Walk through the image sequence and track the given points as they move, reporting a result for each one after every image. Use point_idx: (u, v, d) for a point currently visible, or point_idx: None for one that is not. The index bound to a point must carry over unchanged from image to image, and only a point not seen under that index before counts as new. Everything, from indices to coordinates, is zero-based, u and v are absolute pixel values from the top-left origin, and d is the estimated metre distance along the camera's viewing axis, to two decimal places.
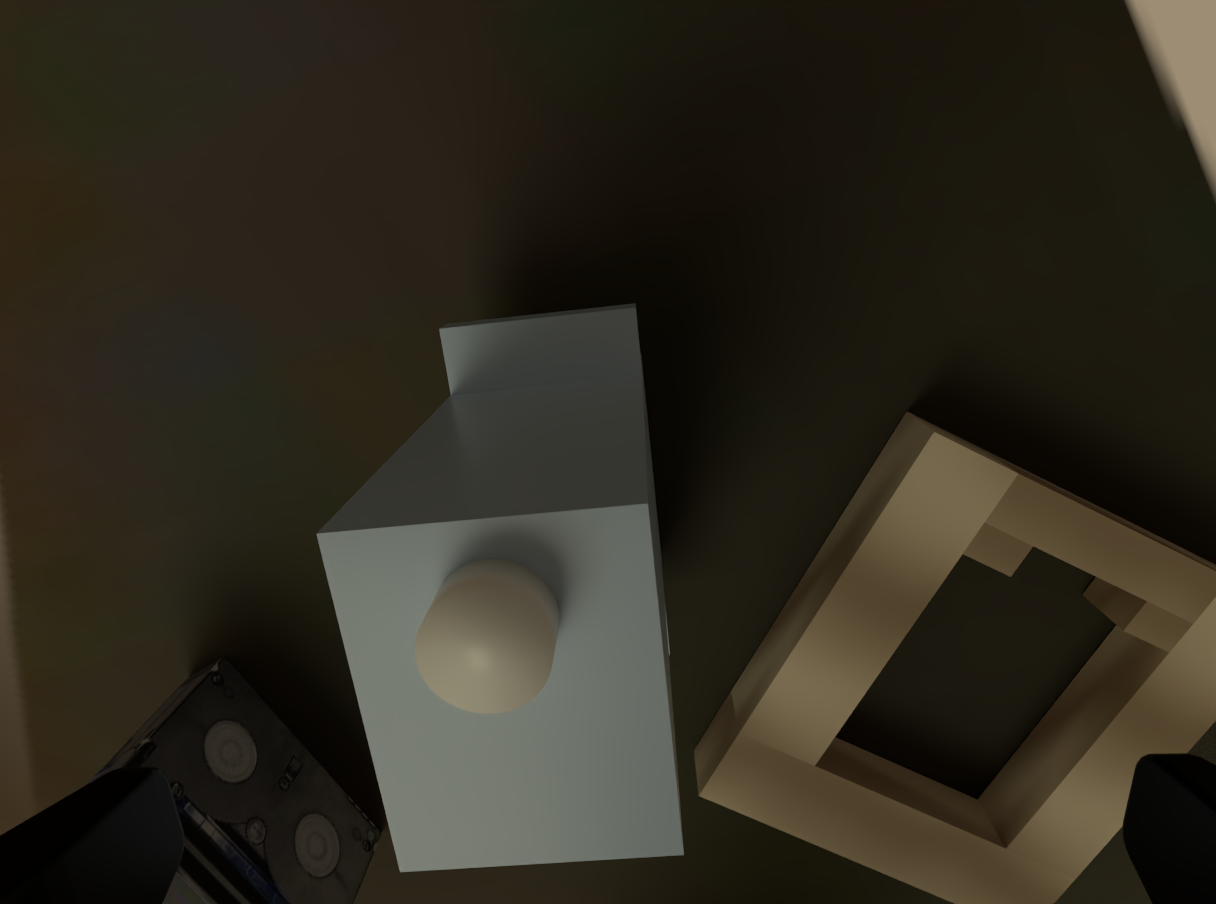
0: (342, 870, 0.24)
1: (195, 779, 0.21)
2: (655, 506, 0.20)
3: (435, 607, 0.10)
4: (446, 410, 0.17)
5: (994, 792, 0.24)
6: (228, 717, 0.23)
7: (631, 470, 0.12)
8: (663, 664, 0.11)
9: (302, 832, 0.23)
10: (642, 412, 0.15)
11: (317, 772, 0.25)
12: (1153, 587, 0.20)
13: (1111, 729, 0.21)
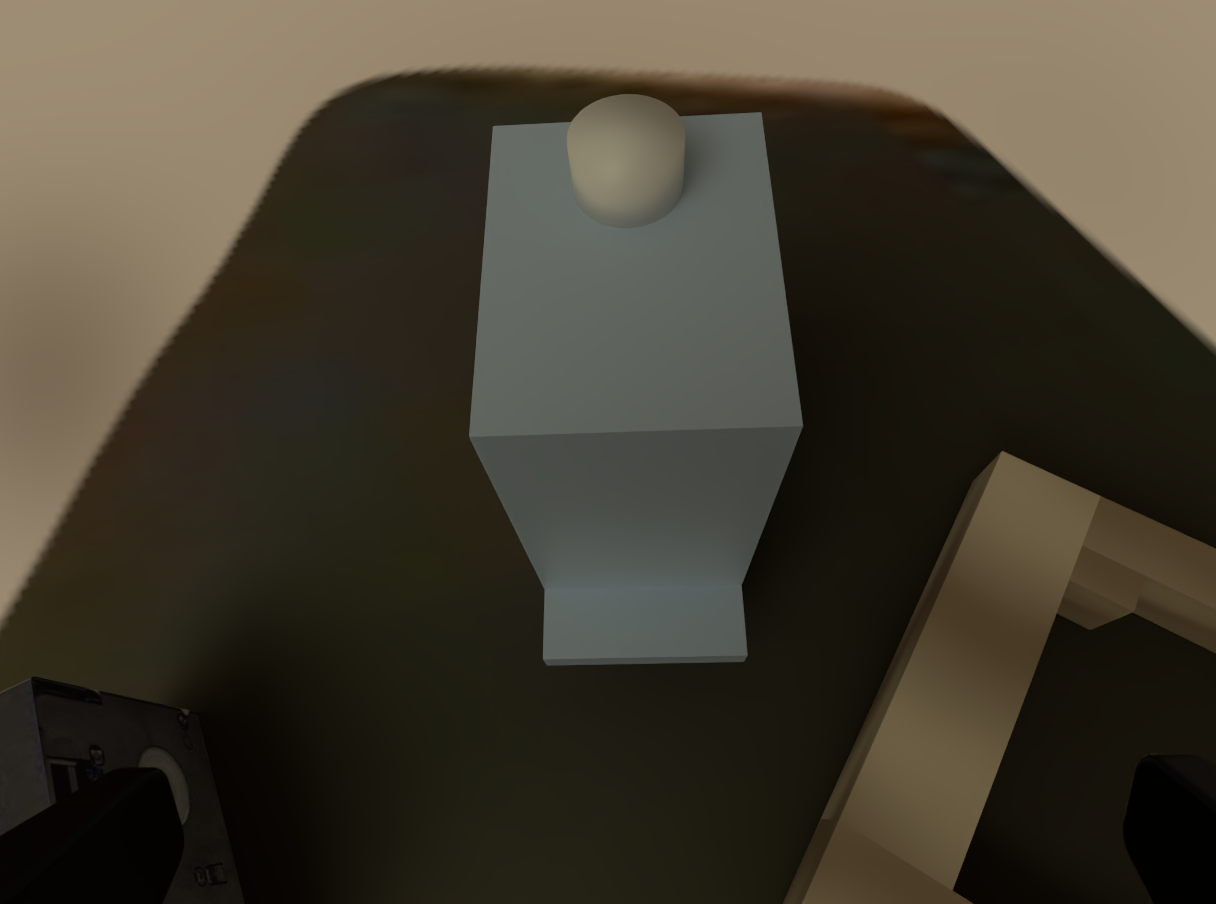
0: None
1: (118, 767, 0.16)
2: None
3: (592, 105, 0.12)
4: None
5: None
6: (176, 759, 0.18)
7: None
8: (775, 229, 0.12)
9: None
10: None
11: None
12: None
13: None
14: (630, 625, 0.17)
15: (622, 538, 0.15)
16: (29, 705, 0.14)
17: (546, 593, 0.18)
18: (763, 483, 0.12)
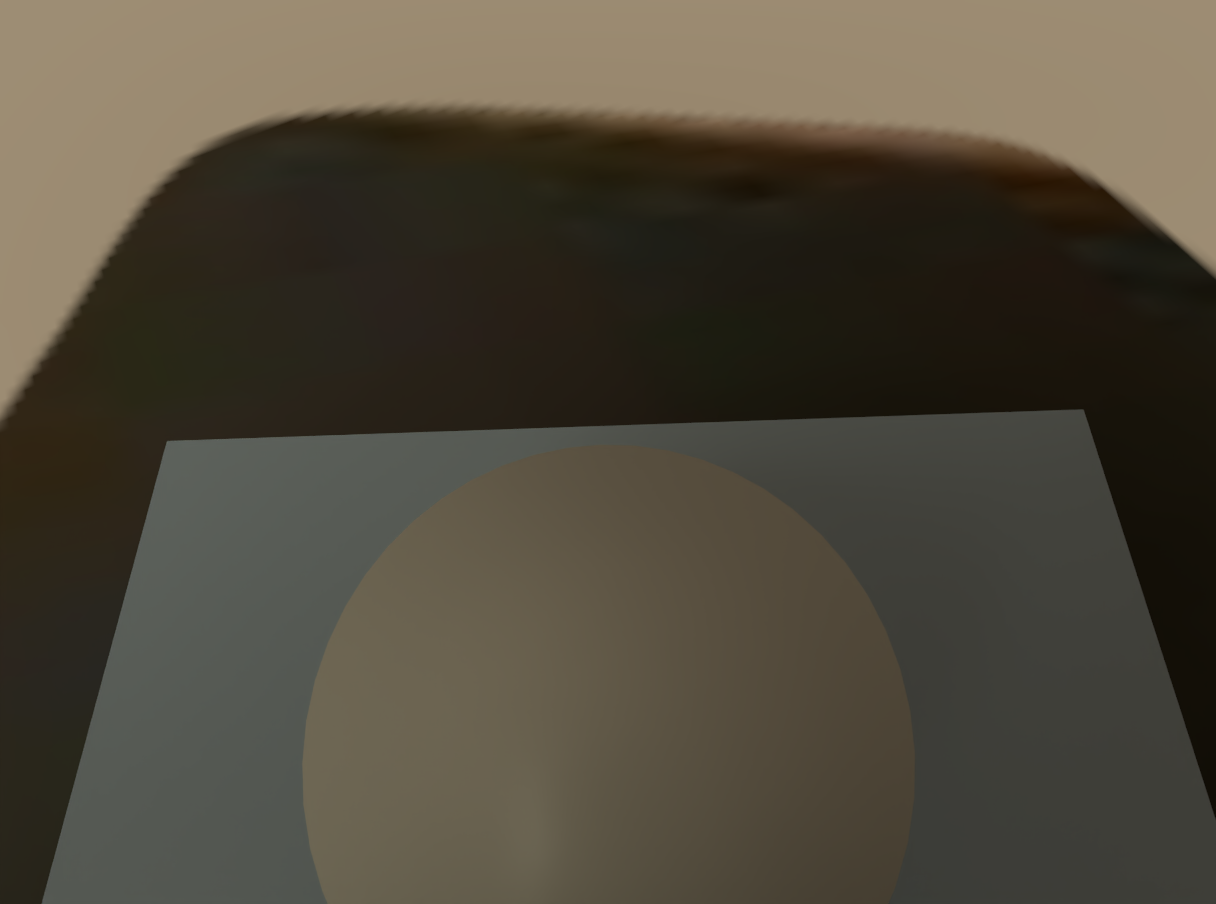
0: None
1: None
2: None
3: (453, 498, 0.03)
4: None
5: None
6: None
7: None
8: None
9: None
10: None
11: None
12: None
13: None
14: None
15: None
16: None
17: None
18: None
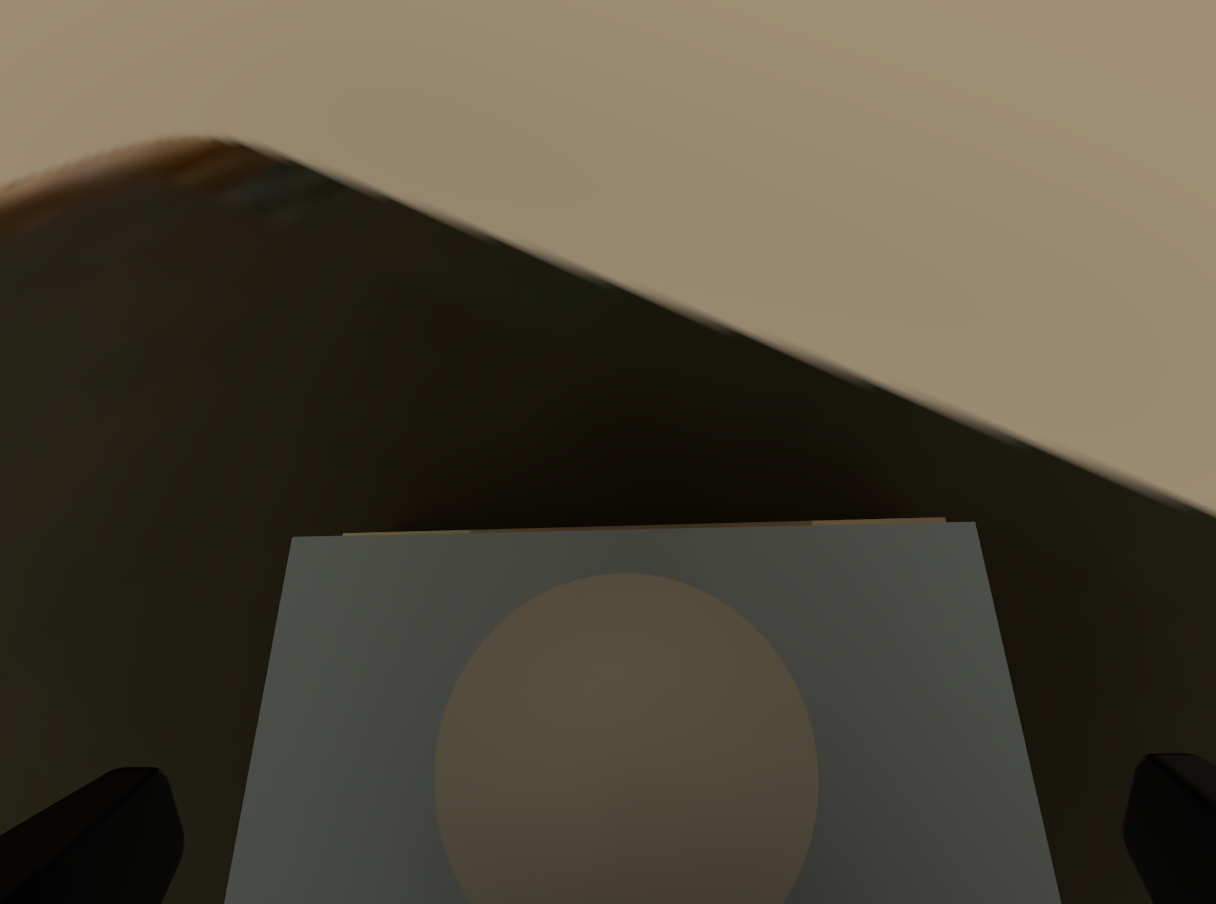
0: None
1: None
2: None
3: (523, 608, 0.04)
4: None
5: None
6: None
7: None
8: None
9: None
10: None
11: None
12: None
13: None
14: None
15: None
16: None
17: None
18: None
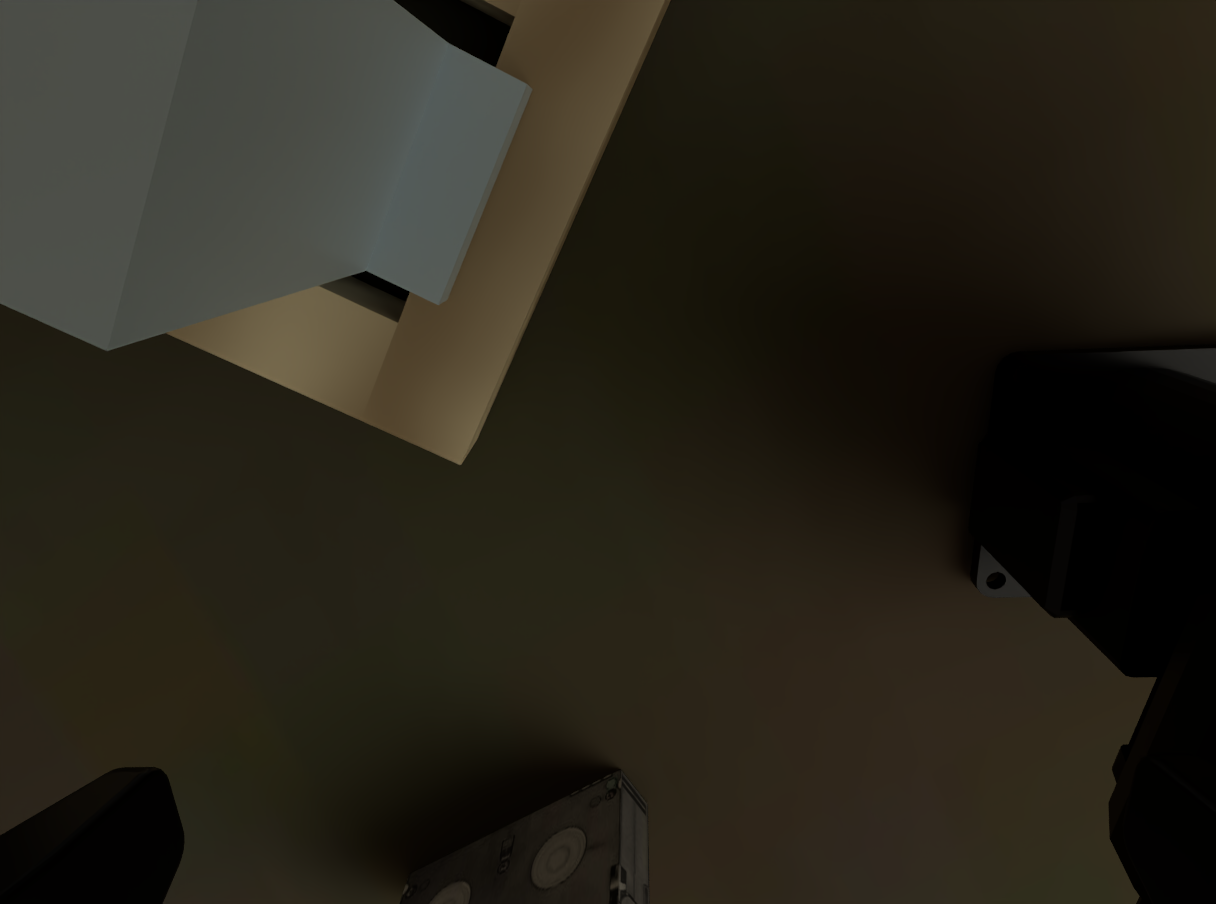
0: (594, 839, 0.21)
1: None
2: None
3: None
4: None
5: (497, 17, 0.16)
6: (431, 898, 0.23)
7: None
8: None
9: (538, 869, 0.21)
10: None
11: (531, 820, 0.23)
12: None
13: None
14: (441, 197, 0.15)
15: (331, 177, 0.12)
16: None
17: (370, 270, 0.16)
18: None
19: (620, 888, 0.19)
